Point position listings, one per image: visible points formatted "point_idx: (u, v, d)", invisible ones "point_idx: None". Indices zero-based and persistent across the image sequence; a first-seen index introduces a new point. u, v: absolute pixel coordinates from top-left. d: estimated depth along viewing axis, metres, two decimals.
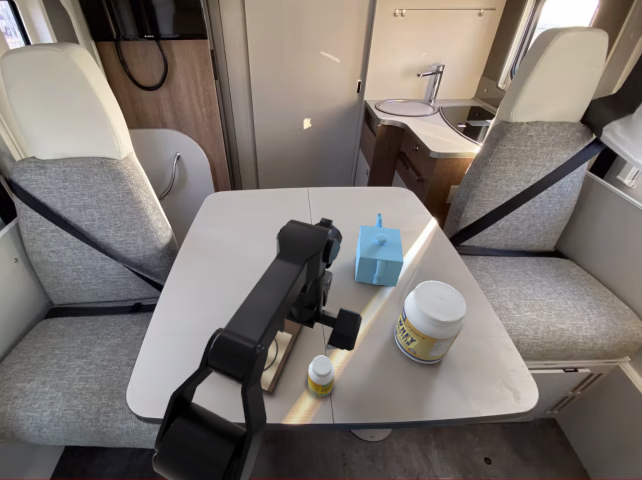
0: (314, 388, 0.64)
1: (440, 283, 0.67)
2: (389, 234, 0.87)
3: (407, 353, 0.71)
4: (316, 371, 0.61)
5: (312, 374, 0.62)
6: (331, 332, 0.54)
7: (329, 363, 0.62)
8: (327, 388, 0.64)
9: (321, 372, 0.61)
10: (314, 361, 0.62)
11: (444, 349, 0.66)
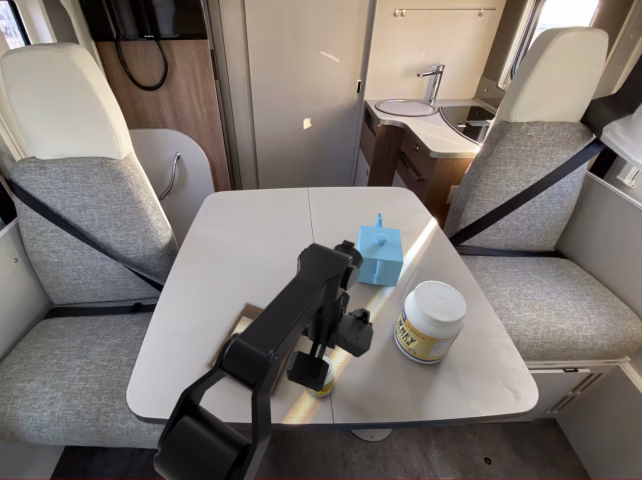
0: None
1: (440, 283, 0.67)
2: (389, 234, 0.87)
3: (407, 353, 0.71)
4: None
5: None
6: None
7: (329, 363, 0.62)
8: (327, 388, 0.64)
9: None
10: None
11: (444, 349, 0.66)
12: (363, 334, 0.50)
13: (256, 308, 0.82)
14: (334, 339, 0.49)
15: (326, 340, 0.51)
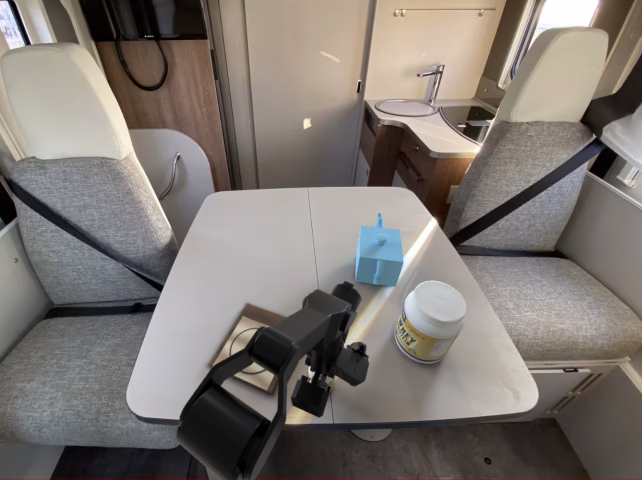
0: None
1: (440, 283, 0.67)
2: (389, 234, 0.87)
3: (407, 353, 0.71)
4: None
5: (312, 374, 0.62)
6: None
7: None
8: None
9: None
10: None
11: (444, 349, 0.66)
12: (360, 366, 0.57)
13: (256, 308, 0.82)
14: (334, 371, 0.56)
15: (327, 370, 0.57)
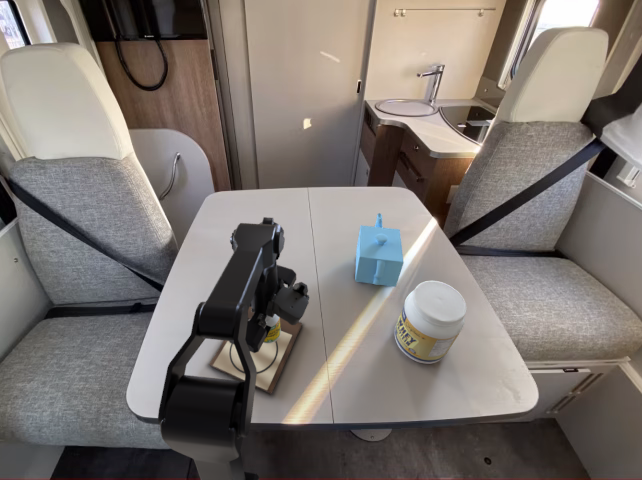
0: None
1: (440, 283, 0.67)
2: (389, 234, 0.87)
3: (407, 353, 0.71)
4: None
5: None
6: None
7: None
8: (272, 333, 0.63)
9: None
10: None
11: (444, 349, 0.66)
12: (298, 304, 0.56)
13: None
14: (271, 307, 0.55)
15: (266, 309, 0.57)
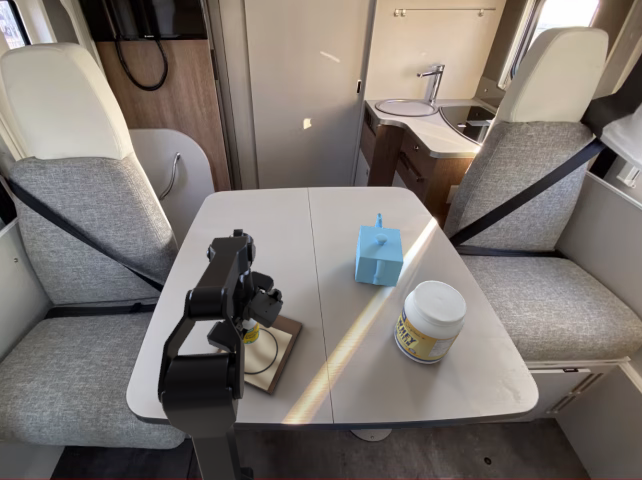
0: None
1: (440, 283, 0.67)
2: (389, 234, 0.87)
3: (407, 353, 0.71)
4: None
5: None
6: None
7: None
8: (250, 335, 0.69)
9: None
10: None
11: (444, 349, 0.66)
12: (272, 309, 0.62)
13: None
14: (246, 312, 0.61)
15: (242, 313, 0.62)
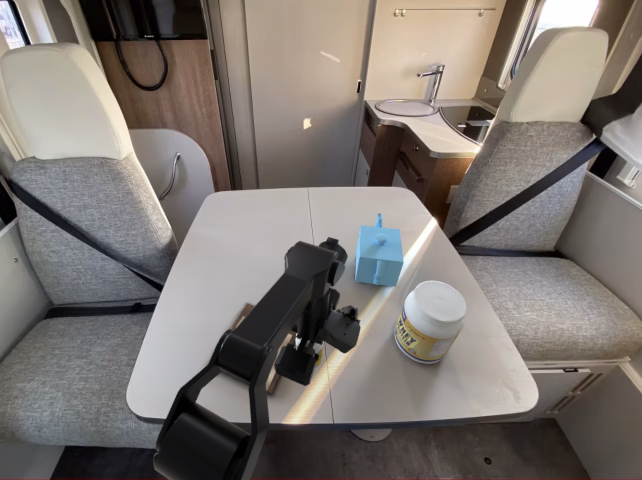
0: None
1: (440, 283, 0.67)
2: (389, 234, 0.87)
3: (407, 353, 0.71)
4: None
5: None
6: None
7: None
8: None
9: None
10: None
11: (444, 349, 0.66)
12: (350, 330, 0.52)
13: None
14: (321, 335, 0.50)
15: (314, 336, 0.52)
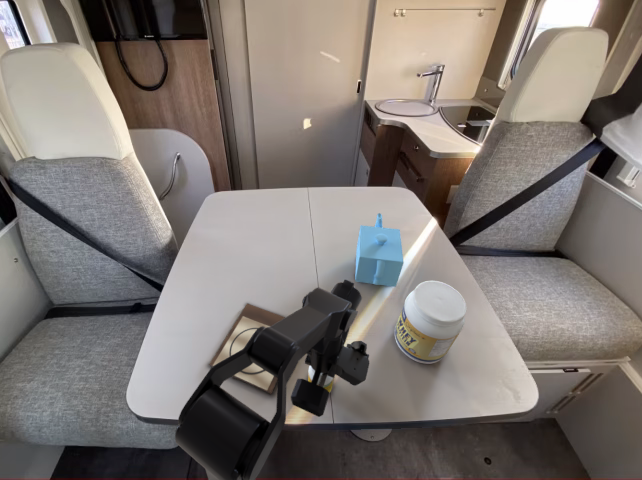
0: None
1: (440, 283, 0.67)
2: (389, 234, 0.87)
3: (407, 353, 0.71)
4: None
5: (312, 374, 0.62)
6: None
7: None
8: (327, 388, 0.64)
9: None
10: None
11: (444, 349, 0.66)
12: (360, 365, 0.56)
13: (256, 308, 0.82)
14: (334, 370, 0.55)
15: (327, 369, 0.57)
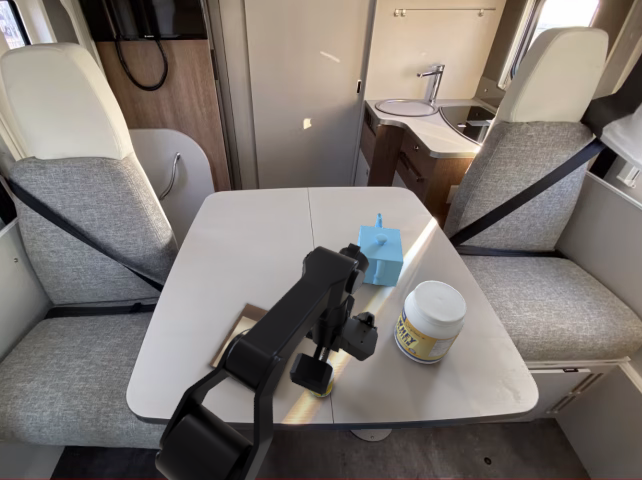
0: None
1: (440, 283, 0.67)
2: (389, 234, 0.87)
3: (407, 353, 0.71)
4: None
5: None
6: None
7: (329, 363, 0.62)
8: None
9: None
10: None
11: (444, 349, 0.66)
12: (367, 338, 0.50)
13: (256, 308, 0.82)
14: (338, 342, 0.49)
15: (330, 343, 0.51)
